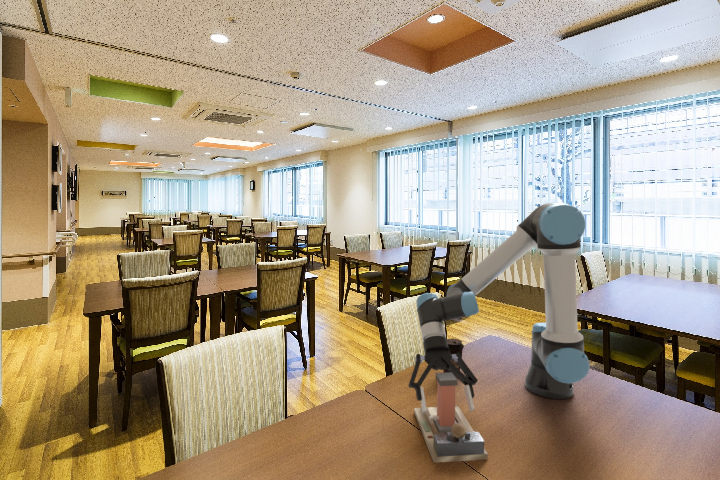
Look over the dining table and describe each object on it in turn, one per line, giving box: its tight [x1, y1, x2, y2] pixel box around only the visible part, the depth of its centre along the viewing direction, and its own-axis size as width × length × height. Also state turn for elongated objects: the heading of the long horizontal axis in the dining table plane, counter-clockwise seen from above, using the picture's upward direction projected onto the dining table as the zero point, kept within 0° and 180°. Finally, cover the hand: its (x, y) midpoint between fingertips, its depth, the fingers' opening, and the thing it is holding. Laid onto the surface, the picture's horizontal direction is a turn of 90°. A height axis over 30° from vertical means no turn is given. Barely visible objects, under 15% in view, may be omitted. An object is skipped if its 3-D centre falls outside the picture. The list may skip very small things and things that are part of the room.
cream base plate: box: [413, 405, 489, 463], centre depth 107 cm, size 14×23×3 cm, turn 4°
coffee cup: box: [442, 338, 465, 378], centre depth 144 cm, size 9×8×13 cm
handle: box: [429, 372, 458, 433], centre depth 108 cm, size 8×7×15 cm
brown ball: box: [451, 423, 466, 438], centre depth 97 cm, size 4×4×4 cm
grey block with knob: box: [433, 431, 485, 457], centre depth 98 cm, size 12×4×5 cm, turn 94°
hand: (448, 411), depth 106 cm, fingers open, 13 cm apart
